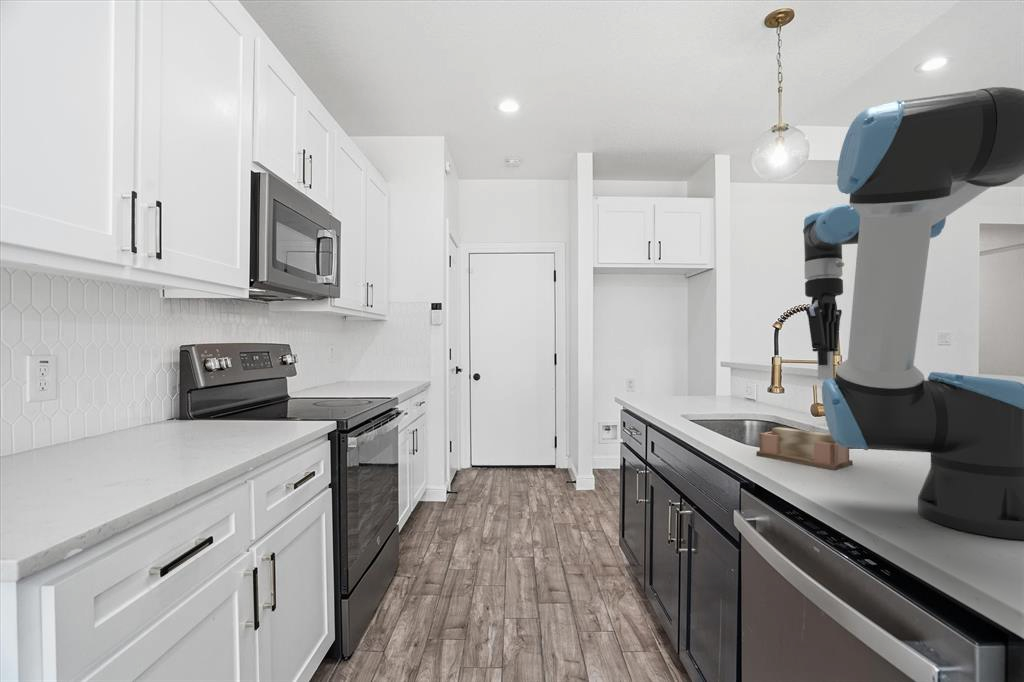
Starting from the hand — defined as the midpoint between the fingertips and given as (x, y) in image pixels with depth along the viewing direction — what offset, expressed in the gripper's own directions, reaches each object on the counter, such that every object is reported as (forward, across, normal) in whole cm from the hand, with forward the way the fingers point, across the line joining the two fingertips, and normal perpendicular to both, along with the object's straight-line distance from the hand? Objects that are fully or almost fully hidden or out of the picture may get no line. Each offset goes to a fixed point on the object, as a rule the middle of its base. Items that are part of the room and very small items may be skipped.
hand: (825, 379), depth 114 cm
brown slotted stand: (+19, +1, +6) cm, 20 cm away
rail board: (+20, +1, +6) cm, 21 cm away
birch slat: (+19, +1, +6) cm, 20 cm away
